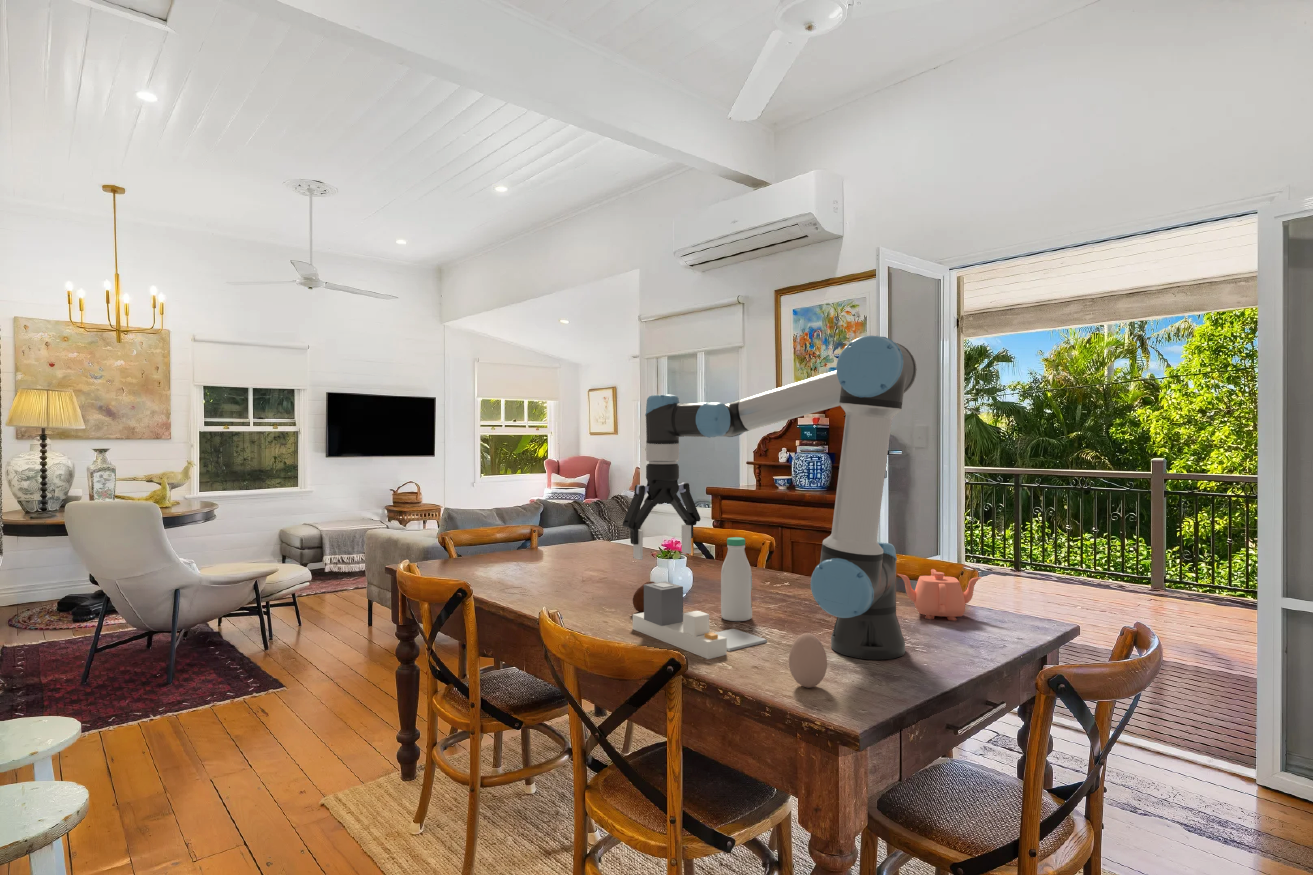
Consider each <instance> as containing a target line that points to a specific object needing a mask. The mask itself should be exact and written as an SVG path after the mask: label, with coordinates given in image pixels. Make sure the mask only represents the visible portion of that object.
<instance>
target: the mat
mask: <svg viewBox="0 0 1313 875" xmlns="http://www.w3.org/2000/svg"><path fill="white" fill-rule="evenodd" d="M714 633H715V634H718V635H720V636H722V637H725V638H727V651H728V652H731V651H735V650H740V649H744V648H748V647H753V646H757V645H760V644H766V643H768V640H767V639H766V638H763V637H760V636H757V635H754V634H751V633H748V632H745V631H742V630H739V629H736V628H731V629H725V630H721V631H716V632H714Z"/></svg>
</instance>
